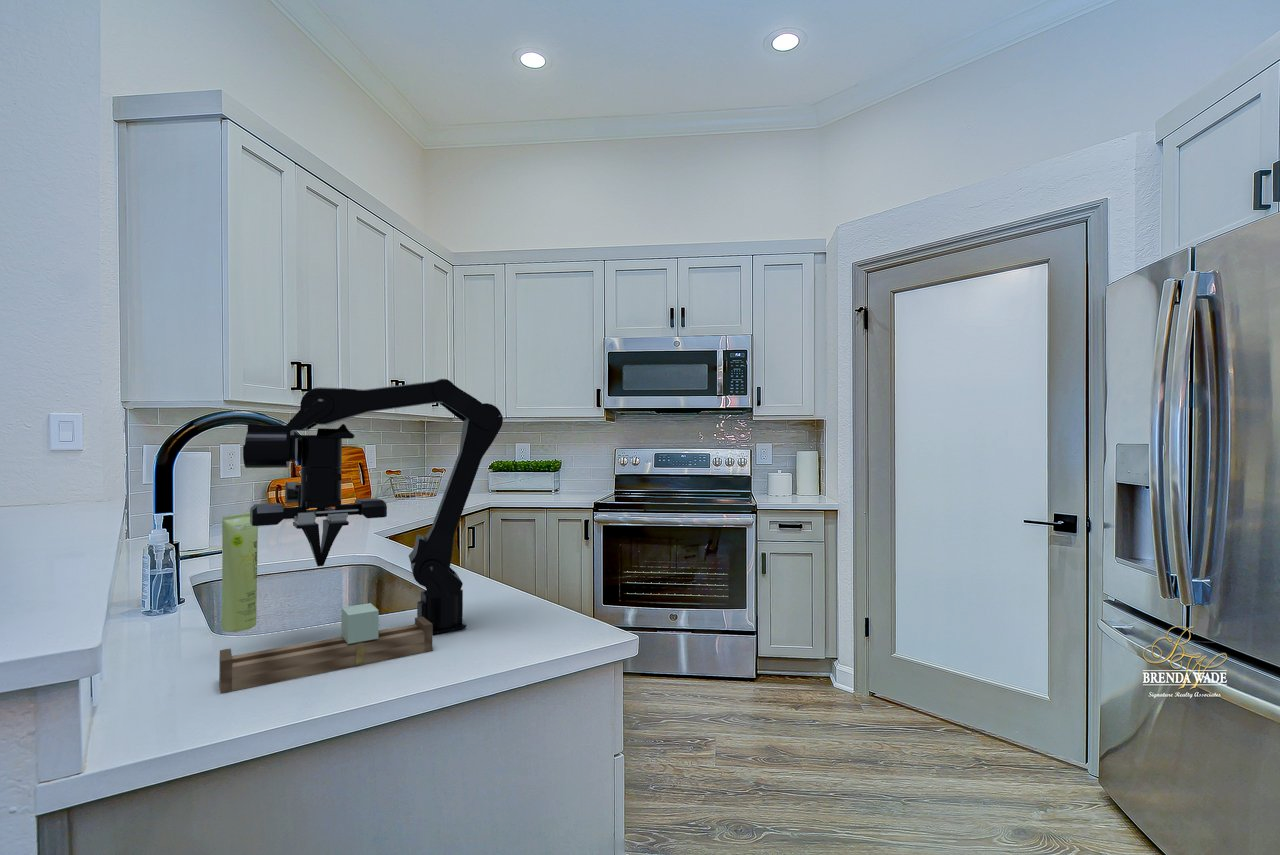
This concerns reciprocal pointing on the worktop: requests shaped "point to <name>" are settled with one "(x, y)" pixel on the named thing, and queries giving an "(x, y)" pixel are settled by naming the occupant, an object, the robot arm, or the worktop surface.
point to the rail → (320, 656)
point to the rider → (359, 623)
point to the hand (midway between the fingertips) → (320, 565)
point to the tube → (239, 573)
